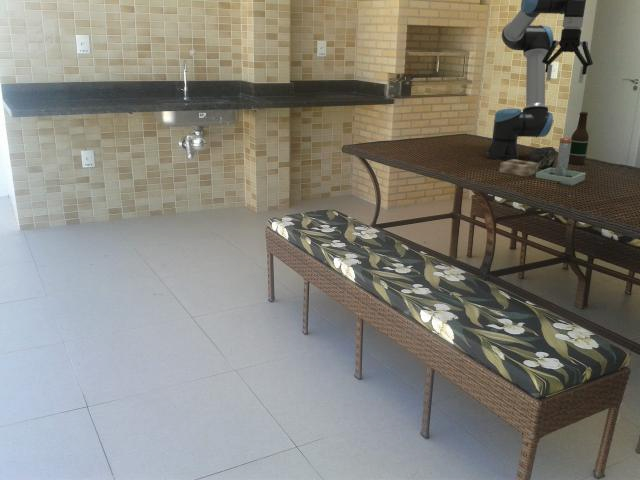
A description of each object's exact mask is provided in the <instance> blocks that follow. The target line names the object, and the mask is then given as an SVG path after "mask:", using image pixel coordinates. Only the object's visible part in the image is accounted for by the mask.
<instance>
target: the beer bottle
mask: <svg viewBox="0 0 640 480" xmlns="http://www.w3.org/2000/svg"><path fill="white" fill-rule="evenodd" d="M578 115H579V117H578V118H579V119H578V122H577V127H576V130H574V132H573V133H572V134H571V138H570V139H572V142H571V148H570V155H569V161H568V165H569V164H570V165H573V166H583V165H585V163H586V158H587V151H588V147H589V145H588V144H589V133H588V131H587V122H588V121H587V120H588V115H589V112H588V111H587V112H586V111H580V112H579V113H578Z"/></svg>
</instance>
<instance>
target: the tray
mask: <svg viewBox="0 0 640 480" xmlns="http://www.w3.org/2000/svg"><path fill="white" fill-rule="evenodd" d="M555 172H556V167H553V168H548V169H543V170H540V171H539V170H538V172H537V173H535V178H536V179H543V180H549V181H554V182H557V183H556V184H560V185H565V186H569V187H572V186H574V185H576V184H579V183H581V182H584V181H585V180H586V179H585V178H586V174H587V173H586V172H581V171H576V170H568V169H567V174H566V177H563V176H557V175H555ZM568 176H569V177H568Z"/></svg>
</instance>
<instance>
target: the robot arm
mask: <svg viewBox="0 0 640 480" xmlns="http://www.w3.org/2000/svg"><path fill="white" fill-rule="evenodd" d="M520 2H521V3H520V10H519V11H518V12H517V14H516V15H515V17H514V18H513V19H512V20H511V21H510V22H508V23H506V24H505V26H504V27H503V29H502V32H501V39H502V42H503V44H504V45H505V46H506V47H508V48H509V49H511V50H512V51H523V52H522V53H523V54H522V55H523V57H524V58H526V68H525V69H526V71H525V72H526V75H525V76H526V85H525V87H526V90H525V91H526V92H525V93H526V94H525V106H524V107H523V108H522V110H521V109H520V108H505V109H500V110H499V109H498V110H497V111H496V112H495V115H494V120H493V128H492V129H493V130H492V139H491V143H490V145H489V147H488V150H487V151H486V157H487V158H488V159H492V160H493V159H494V160H498V161H499V160H500V161H508V160H511V159H515V160H520V159H519V157H520V151H519V147H518V137H521V138H522V137H524V138H530V137H531V138H544V137H547V136H548V135H549V133H550V131H551V129H552V125H553V121H554V120H553V119H554V115H553V113H551V112H550V111H549V107H548V106H546V82H549V81H550V82H551V79H552V70H553V64H552V63H554V61H555V60H556V59H557V58H558V57H559V56H560V55H561V54H562V53H574V54H575V56H576V57H577V59H578V61H580V63H581V65H582V66H580V71H579V76H578V77H579V78H578V83H579V84H583V83H584V82H583V81H584V76H585V75H587V71H588V67H589V66H592V65H593V64H594V62H593V59H592V55H591V53H590V50H589V47H588V45H589V43H588V41H587V40H585V41H581V35H582V29H581V28H583V23H584V14H585V10H586V4H587V3H586V2H587V0H521V1H520ZM540 14H551V15H552V14H553V15H555V14H559V15H563V21H562V30H561V34H560V35H561V36H560V40H554V33H553V30H552V28H551V27H550V26H548V25H541V24H540V25H531V24H532V23H533V22H534V21H535V20H536V19H537V17H538V16H539V15H540ZM558 46H559V49H557V50H556V52H555V53H554V51H555V49H556V48H557V47H558ZM579 47H582V51H583V54H584V56H583V54H582V53H581V50H580V49H579ZM553 53H554V54H553ZM552 54H553V55H552Z"/></svg>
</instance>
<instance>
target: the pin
mask: <svg viewBox="0 0 640 480" xmlns="http://www.w3.org/2000/svg"><path fill="white" fill-rule="evenodd" d="M571 142H572V139H571V138H568V137H566V138H565V137H560V139H559V145H558V152H557V159H556V167H555V168H556V172H555V173H554V175H557V176H563V177H567V175H566V174H567V170H568V167H569V163H568V161H569V155H570V148H571Z"/></svg>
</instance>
